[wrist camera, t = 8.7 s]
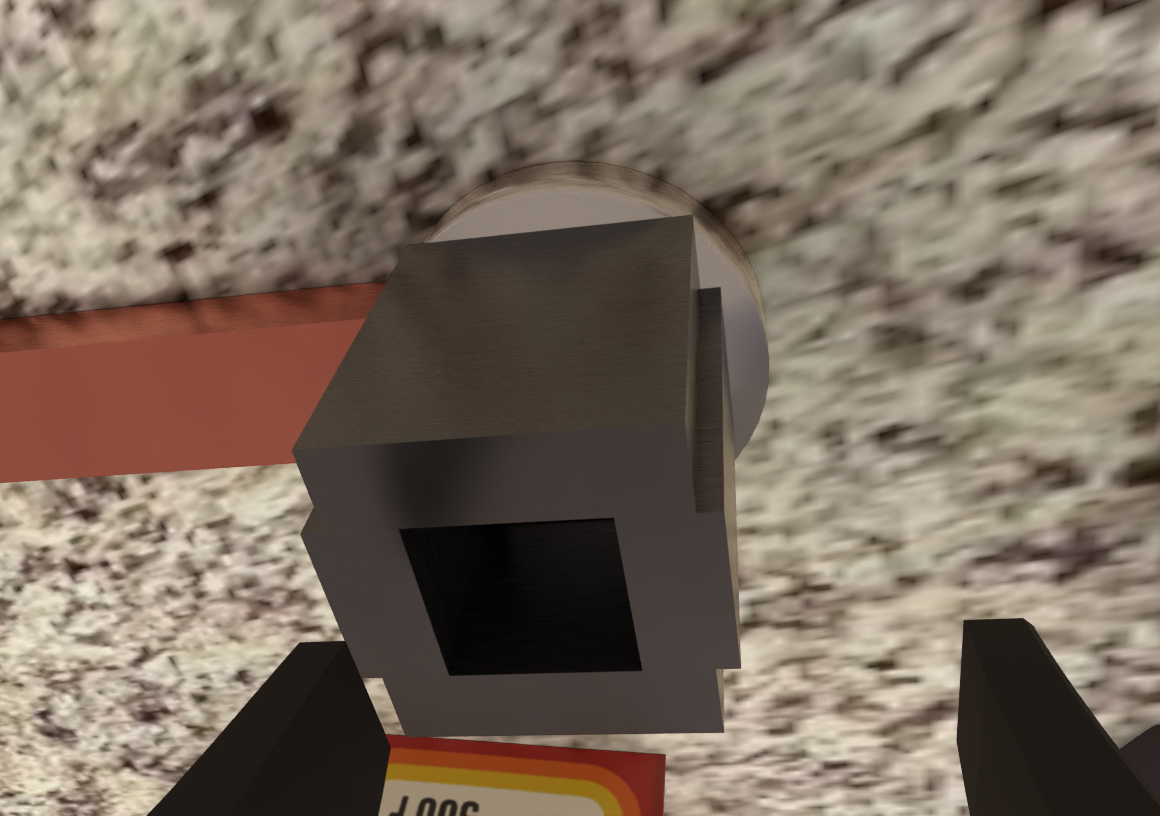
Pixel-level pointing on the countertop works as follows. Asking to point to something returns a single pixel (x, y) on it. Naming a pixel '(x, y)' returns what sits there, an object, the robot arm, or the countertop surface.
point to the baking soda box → (518, 780)
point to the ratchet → (301, 344)
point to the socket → (535, 486)
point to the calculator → (1146, 757)
